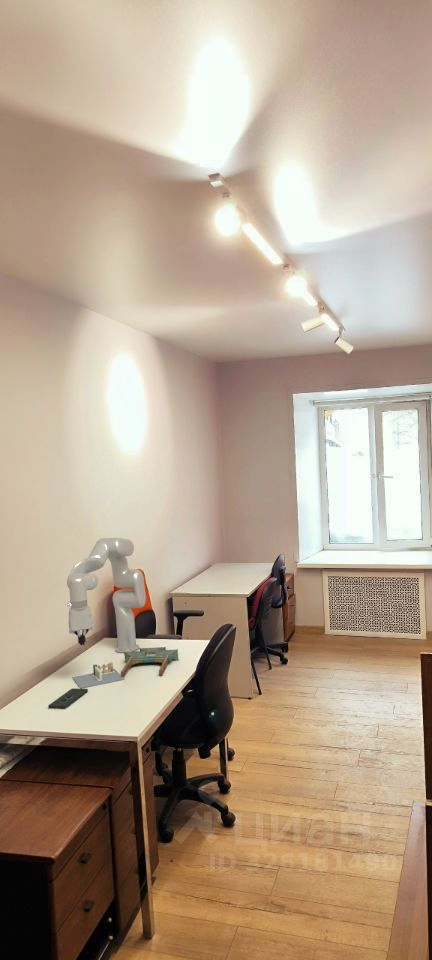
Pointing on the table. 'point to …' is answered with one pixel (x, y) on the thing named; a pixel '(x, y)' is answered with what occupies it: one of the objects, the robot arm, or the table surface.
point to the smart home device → (67, 699)
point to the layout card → (97, 679)
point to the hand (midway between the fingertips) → (82, 644)
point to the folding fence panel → (98, 673)
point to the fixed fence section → (110, 668)
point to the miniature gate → (149, 657)
